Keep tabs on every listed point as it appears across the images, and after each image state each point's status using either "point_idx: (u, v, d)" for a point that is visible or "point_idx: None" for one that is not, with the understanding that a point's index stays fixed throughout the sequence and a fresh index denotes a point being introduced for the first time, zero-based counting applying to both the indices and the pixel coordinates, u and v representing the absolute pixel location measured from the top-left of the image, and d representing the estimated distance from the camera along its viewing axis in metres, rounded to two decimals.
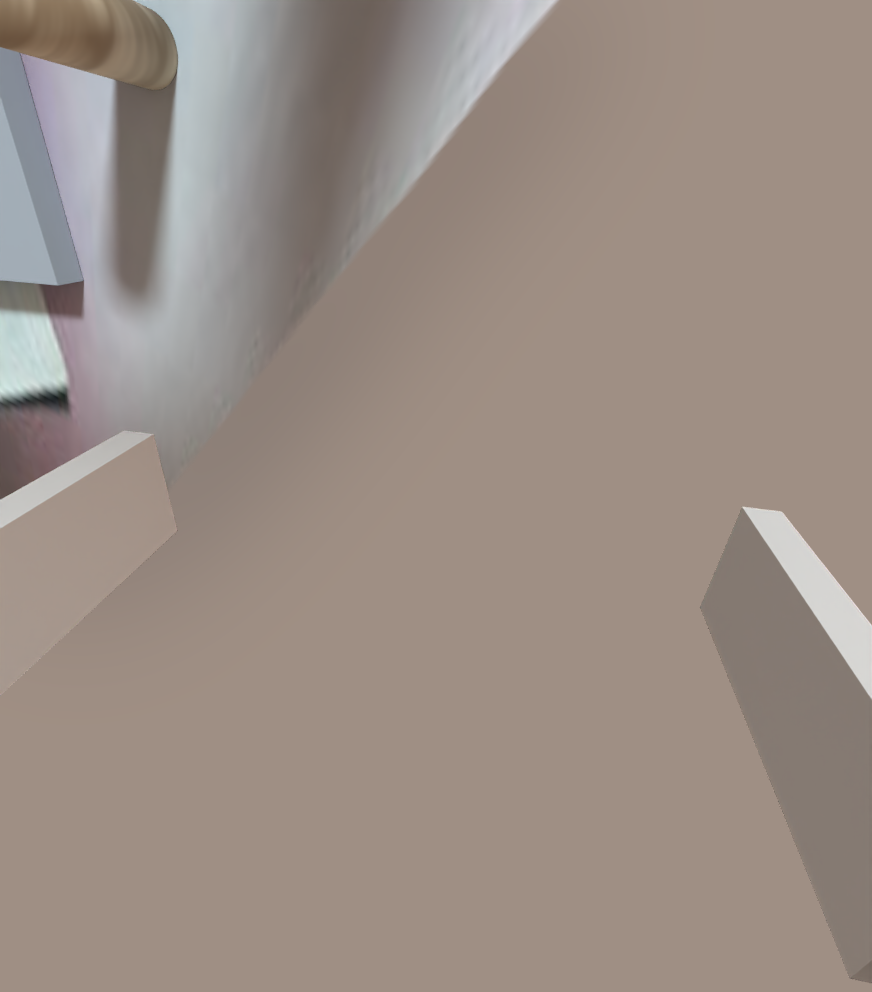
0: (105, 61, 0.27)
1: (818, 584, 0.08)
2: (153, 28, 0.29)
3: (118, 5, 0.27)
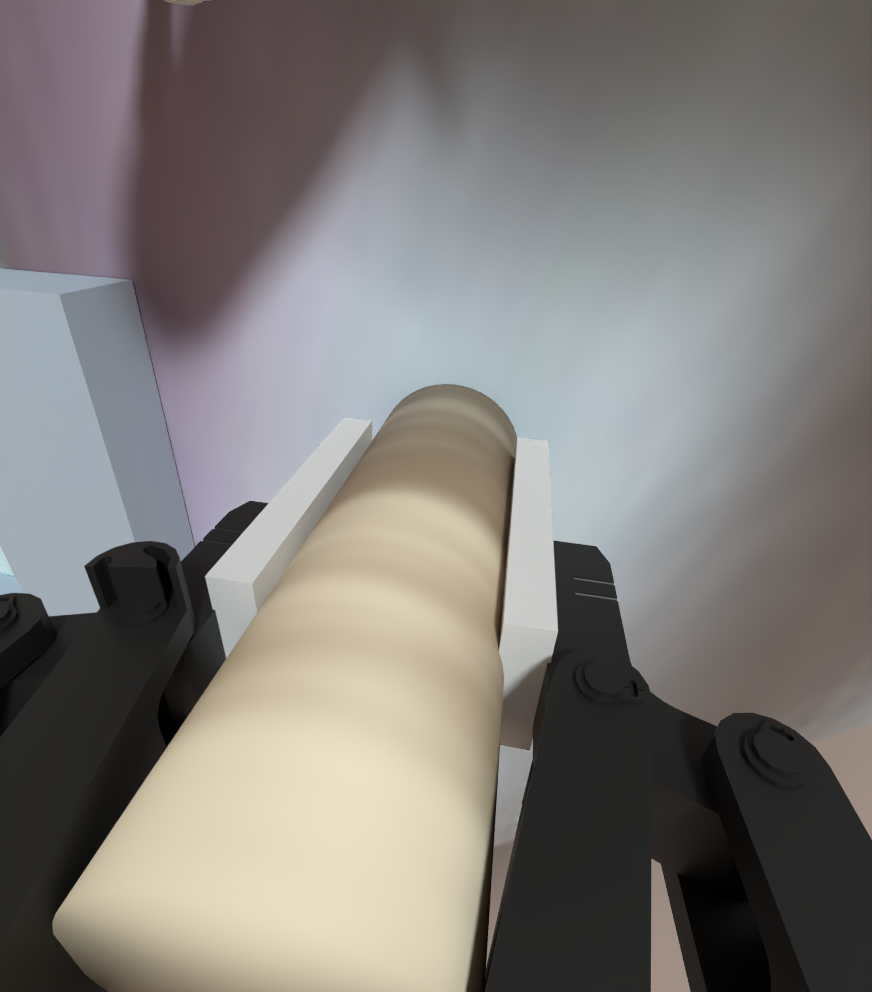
0: None
1: (533, 484, 0.11)
2: None
3: (505, 509, 0.10)
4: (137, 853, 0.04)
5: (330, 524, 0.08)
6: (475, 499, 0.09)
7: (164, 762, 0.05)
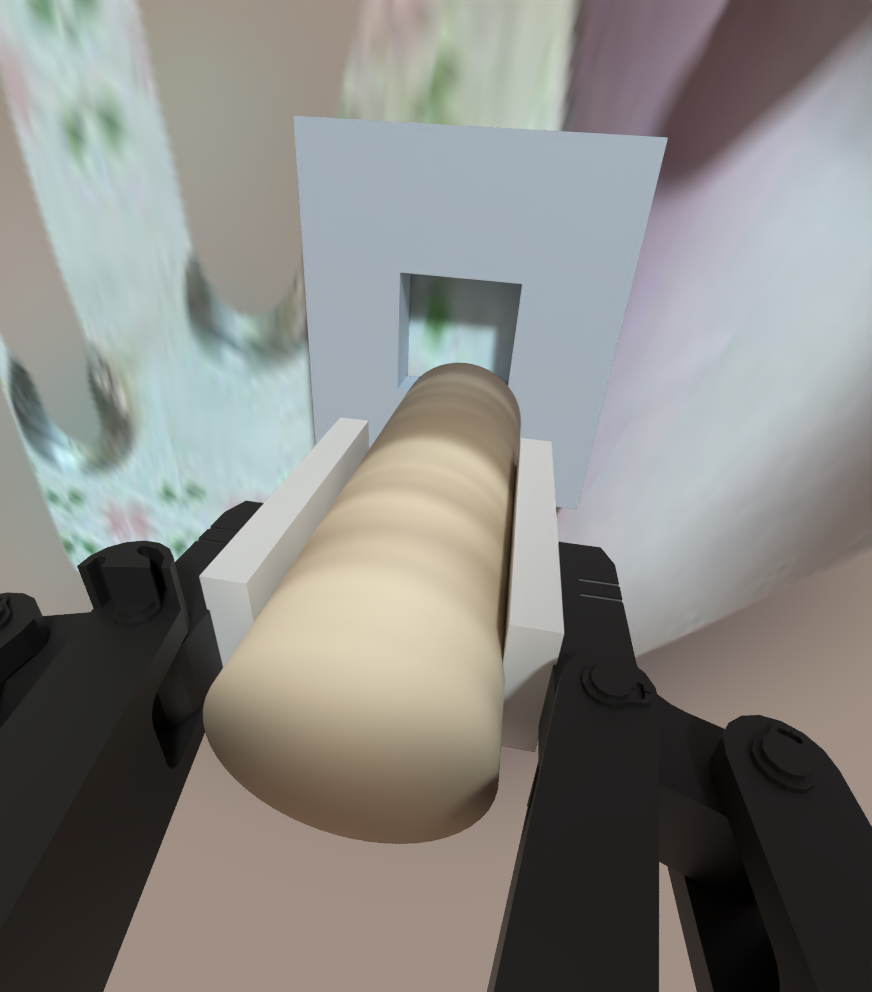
0: None
1: (537, 484, 0.11)
2: (518, 433, 0.15)
3: (510, 460, 0.12)
4: (271, 637, 0.06)
5: (371, 463, 0.11)
6: (486, 447, 0.11)
7: (272, 602, 0.07)
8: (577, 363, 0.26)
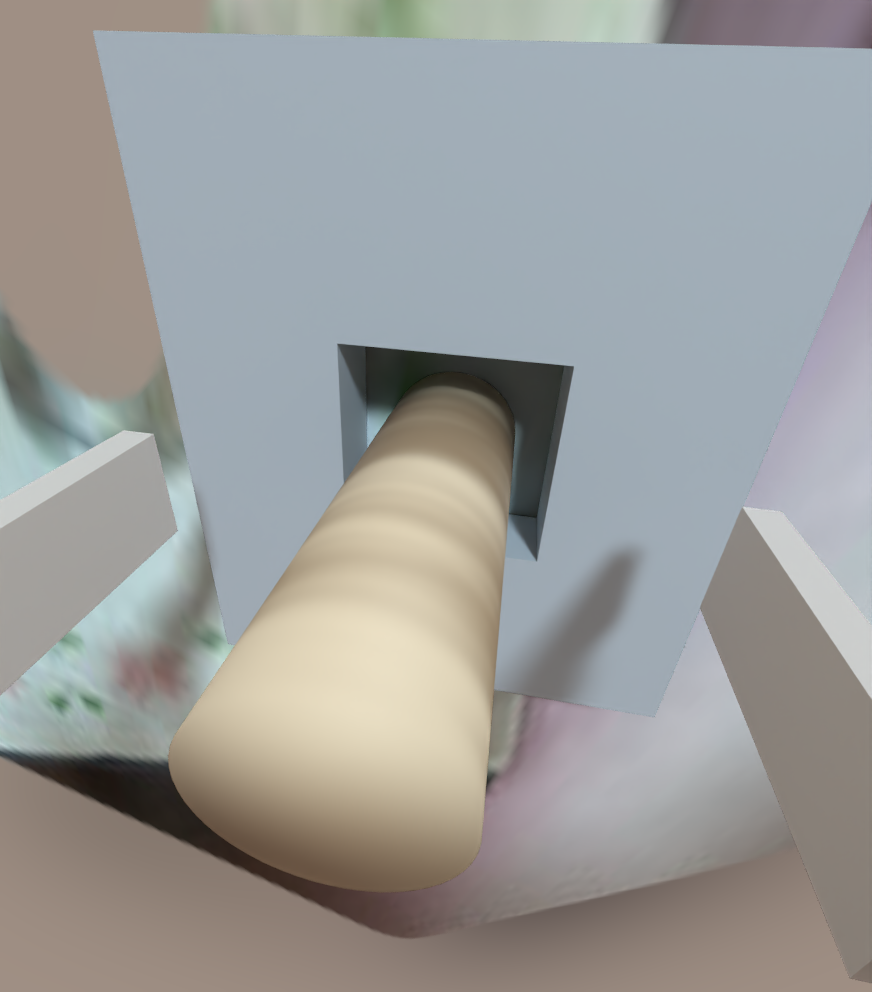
0: None
1: (818, 584, 0.08)
2: (511, 445, 0.14)
3: (502, 475, 0.12)
4: (238, 684, 0.06)
5: (356, 482, 0.10)
6: (477, 464, 0.11)
7: (243, 640, 0.07)
8: (674, 504, 0.14)
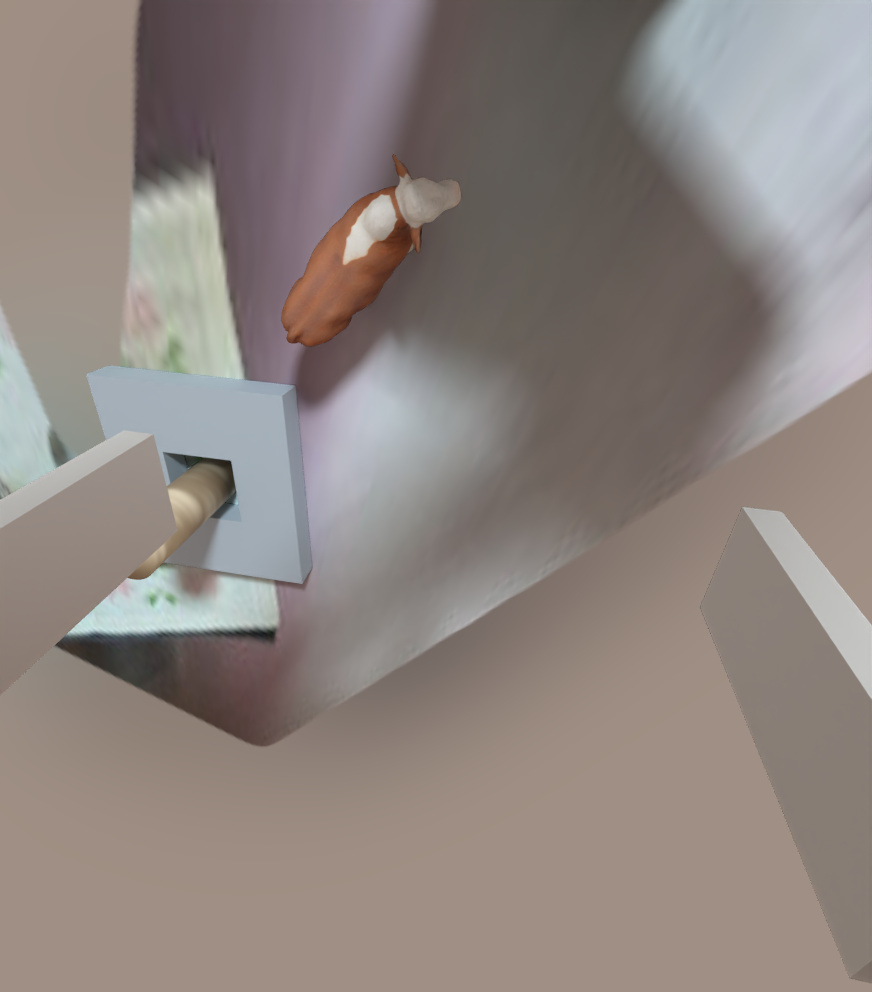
0: None
1: (818, 584, 0.08)
2: (226, 482, 0.43)
3: (207, 493, 0.41)
4: None
5: None
6: (192, 491, 0.40)
7: None
8: (274, 502, 0.43)
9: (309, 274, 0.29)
